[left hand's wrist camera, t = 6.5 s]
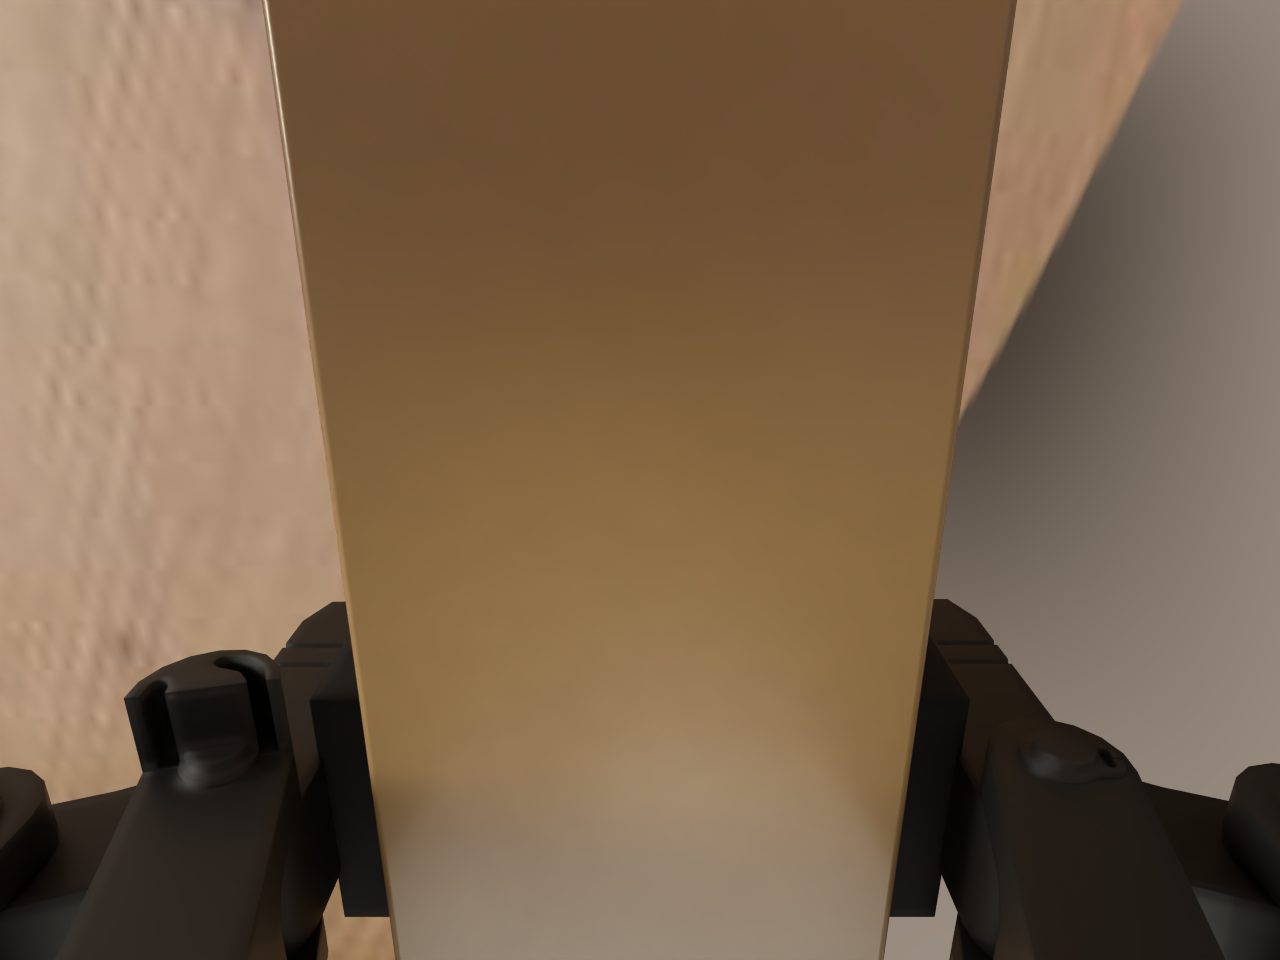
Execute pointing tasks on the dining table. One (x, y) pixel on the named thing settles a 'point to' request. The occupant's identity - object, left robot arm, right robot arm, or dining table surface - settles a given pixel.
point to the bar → (639, 445)
